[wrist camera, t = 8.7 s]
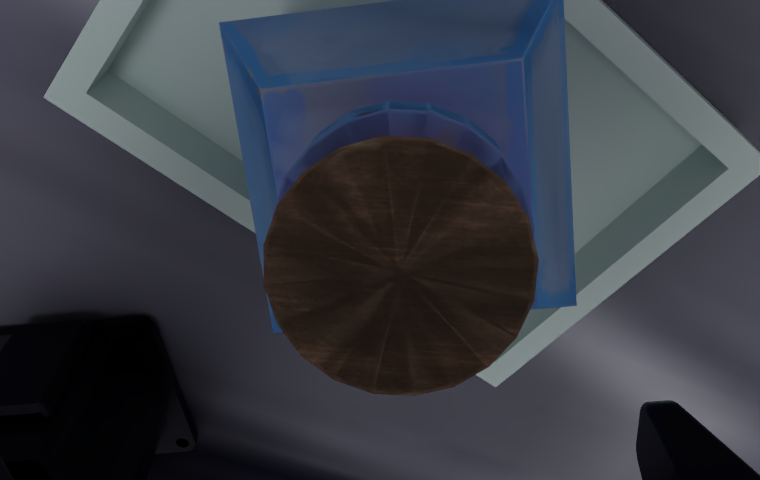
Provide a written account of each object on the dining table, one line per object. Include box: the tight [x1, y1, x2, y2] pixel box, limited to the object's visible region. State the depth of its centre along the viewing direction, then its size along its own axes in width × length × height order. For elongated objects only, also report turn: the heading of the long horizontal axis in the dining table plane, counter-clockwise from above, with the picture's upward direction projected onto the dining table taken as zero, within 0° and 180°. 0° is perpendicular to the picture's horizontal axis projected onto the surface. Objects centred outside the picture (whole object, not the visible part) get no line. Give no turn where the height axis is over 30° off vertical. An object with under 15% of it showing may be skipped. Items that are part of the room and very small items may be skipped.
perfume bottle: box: [219, 0, 577, 396], centre depth 14 cm, size 6×6×12 cm
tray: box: [43, 0, 760, 387], centre depth 20 cm, size 16×11×2 cm, turn 51°
